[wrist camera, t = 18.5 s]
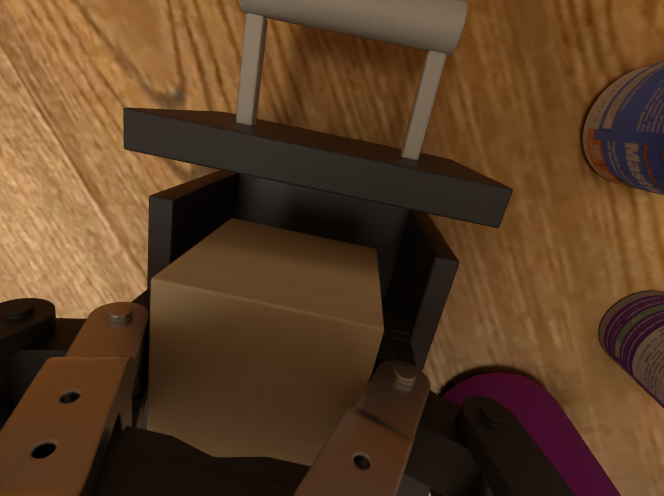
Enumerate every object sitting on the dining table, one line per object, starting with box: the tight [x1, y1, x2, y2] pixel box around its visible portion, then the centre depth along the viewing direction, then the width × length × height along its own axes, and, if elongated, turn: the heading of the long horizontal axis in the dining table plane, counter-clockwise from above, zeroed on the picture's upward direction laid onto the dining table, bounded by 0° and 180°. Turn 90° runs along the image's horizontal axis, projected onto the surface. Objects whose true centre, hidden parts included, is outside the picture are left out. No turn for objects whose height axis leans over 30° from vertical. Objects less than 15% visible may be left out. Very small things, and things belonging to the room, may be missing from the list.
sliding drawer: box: [124, 0, 513, 371], centre depth 16 cm, size 18×11×8 cm, turn 169°
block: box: [147, 218, 384, 466], centre depth 11 cm, size 5×5×5 cm
